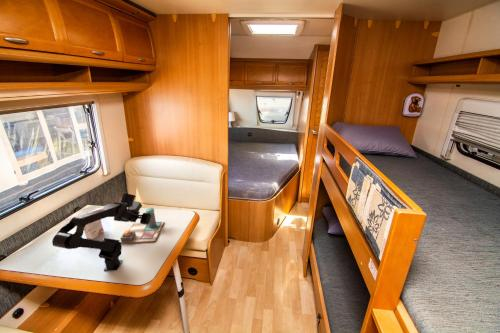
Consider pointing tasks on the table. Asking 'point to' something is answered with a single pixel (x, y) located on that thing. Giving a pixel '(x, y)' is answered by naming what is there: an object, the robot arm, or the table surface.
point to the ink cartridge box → (93, 229)
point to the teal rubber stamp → (152, 220)
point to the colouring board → (142, 233)
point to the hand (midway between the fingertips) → (143, 220)
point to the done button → (127, 233)
